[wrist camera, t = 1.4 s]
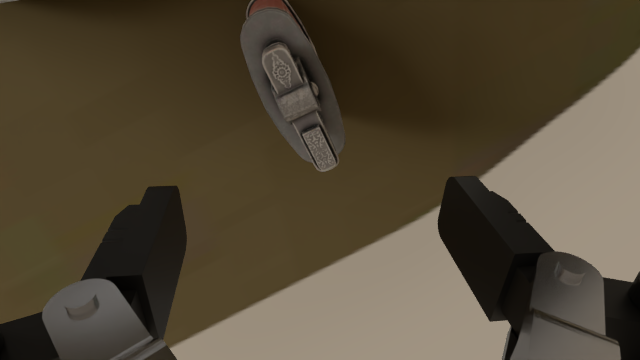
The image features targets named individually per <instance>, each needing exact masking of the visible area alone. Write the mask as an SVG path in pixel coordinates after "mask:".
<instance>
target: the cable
mask: <svg viewBox="0 0 640 360" xmlns="http://www.w3.org/2000/svg"><path fill="white" fill-rule="evenodd" d="M10 1H17V0H0V3H5V2H10Z"/></svg>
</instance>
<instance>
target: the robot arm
mask: <svg viewBox="0 0 640 360" xmlns="http://www.w3.org/2000/svg"><path fill="white" fill-rule="evenodd" d="M438 230H439V234H440V237H441V239H442V241H443V242H444V244H445V246H446V248H447V249H448V251H449V253H450V254H451V256H452V258H453V260H454V261H455V263H456V265H457V266H458V268H459V270H460V271H461V273H462V275H463V277H464V278H465V280H466V282H467V283H468V285H469V287H470V288H471V290H472V292H473V294H474V295H475V297H476V299H477V300H478V302H479V304H480V306H481V307H482V309H483V311H484V312H485V314H486V316H487V317H488V319H489V321H503V320H508V322H509V323H510V325H511V327H510V329H509V331H508V334H507V338H506V343H505V347H504V352H503V356H502V360H640V272H639V273H638V275H637V277H636V279H635V280H634V282H627V281H621V280H615V279H610V278H603V277H602V276H601V274H600V273H599V271H598V270H597V269H596V268H595V267H593V266H592V265H591V264H589V263H588V262H587V261H585V260H583V259H581V258H579V257H577V256H574V255H571V254H568V253H564V252H555V251H554V250H553V249H552V248H551V247H550V246H549V245H548V243H547V242H546V241H545V240H544V239H543V238H542V237H541V236H540V235H539V234H538V233H537V232H536V231H535V230H534V228H533V227H532V226H531V225H530V224H529V223H526V220H525V219H524V218H523V216H521V214H518V211H517V210H516V209H515V208H514V207H513V206H512V205H511V203H510V202H509V201H508V200H506V199H504V198H503V197H501V196H499V195H498V194H496V193H495V192H493V191H489V190H488V189H487V188H486V187H485V186H484V185H483V183H482V182H480V180H479V179H478V178H477V177H475V176H462V177H450V178H449V179H448V180H447V182H446V186H445V190H444V195H443V199H442V204H441V208H440V213H439V217H438ZM102 241H103V242H102V243H101V244H100V245H99V247H98V249H97V251H96V253H95V255H94V257H93V258H92V260H91V262H90V264H89V266H88V268H87V270H86V271H85V273H84V275H83V277H82V279H81V281H79V282H76V283H74V284H71V285H69V286H67V287H65V288H64V289H62V290H60V291H59V292H58V293H56V294H55V295H54V296H53V297H52V298H51V299H50V300H49V301H48V302H47V304H46V305H45V307H44V309H43V312H40V313H37V314H34V315H31V316H27V317H24V318H20V319H17V320H13V321H10V322H7V323H3V324H0V360H177V359H176V357H175V356H174V354H173V353H172V352H171V350H170V349H169V348H168V346H167V345H166V344H165V342H164V341H163V338H164V334H165V330H166V326H167V322H168V318H169V314H170V310H171V306H172V302H173V298H174V294H175V290H176V287H177V283H178V279H179V275H180V271H181V267H182V263H183V259H184V255H185V251H186V243H187V235H186V227H185V221H184V215H183V210H182V204H181V199H180V193H179V189H178V187H177V186H156V187H148V188H147V190H146V192H145V194H144V197H143V199H142V201H141V203H140V205H128V206H127V207H126V208H125V209H124V210H122V211H121V212H120V213H119V214H118V215H116V216H115V218H114V220H113V221H112V223H111V225H110V227H109V229H108V232H106V234H105V236H104V238H103V240H102Z"/></svg>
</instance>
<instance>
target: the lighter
mask: <svg viewBox="0 0 640 360" xmlns="http://www.w3.org/2000/svg"><path fill="white" fill-rule="evenodd" d="M246 17H247V20H246V21H245V23H244V24H243V28H242V31H241V35H240V41H241V47H242V50H243V53H244V56H245V60H246V63H247V66H248V69H249V72H250V75H251V78H252V81H253V83H254V85H255V87H256V89H257V92H258V94H259V96H260V98H261V100H262V102H263V105H264V107H265V109H266V111H267V112H268V114H269V115H270V117H271V118H272V120H273V121H274V123H275V125H276V126H277V128H278V129H279V131H280V132H281V134H282V135H283V137H284V138H285V139H286V140H287V141H288V143H289V144H290V145H291V146H292V147H293V149H294V150H295V151H296V152H297V153H298V155H299V156H300V157H301V158H303V159H304V160H305V161H308V162H312V163H313V164H314V166H315V167H316V169H317V170H319V171H322V172H324V171H328V170H330V169H333V168H334V167H336V166H337V165H338V163H339V158H338V154H339V153H340V152H341V151H342V149H343V147H344V145H345V132H344V127H343V123H342V118H341V113H340V109H339V106H338V103H337V100H336V97H335V94H334V91H333V89H332V86H331V83H330V80H329V78H328V75H327V73H326V72H325V70H324V68H323V66H322V64H321V62H320V60H319V58H318V55H317V53H316V50H315V47H314V45H313V43H312V41H311V39H310V37H309V35H308V33H307V31H306V29H305V27H304V26H303V24H302V22H301V20H300V18H299V17H298V16H297V14H296V13H295V11H294V10H293V8H292V7H291V5H290V4H289V2H288V1H287V0H251V1H250V2H249V4H248V7H247V11H246Z"/></svg>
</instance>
